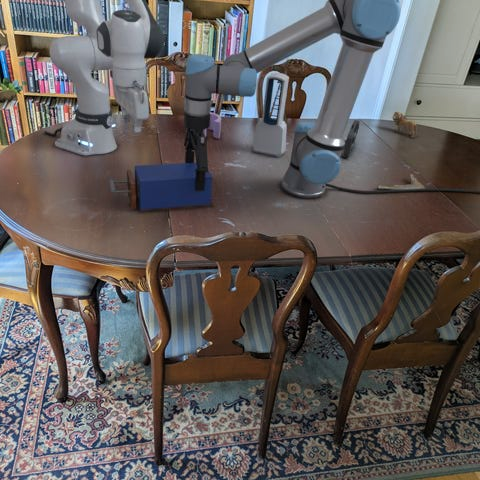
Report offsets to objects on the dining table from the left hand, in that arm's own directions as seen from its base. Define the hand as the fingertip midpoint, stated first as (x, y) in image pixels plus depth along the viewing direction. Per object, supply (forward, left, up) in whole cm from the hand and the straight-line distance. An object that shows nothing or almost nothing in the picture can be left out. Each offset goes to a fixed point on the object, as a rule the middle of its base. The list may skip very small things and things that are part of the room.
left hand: (131, 126), depth 135 cm
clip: (-1, +65, -22) cm, 69 cm away
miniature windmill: (+26, +87, -22) cm, 94 cm away
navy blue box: (+12, +2, -22) cm, 26 cm away
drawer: (+8, -2, -21) cm, 23 cm away
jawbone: (+81, +49, -22) cm, 97 cm away
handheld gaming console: (+61, +75, -22) cm, 100 cm away
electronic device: (+30, +55, -22) cm, 67 cm away
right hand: (+18, +6, -16) cm, 24 cm away
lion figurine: (+83, +111, -22) cm, 141 cm away
